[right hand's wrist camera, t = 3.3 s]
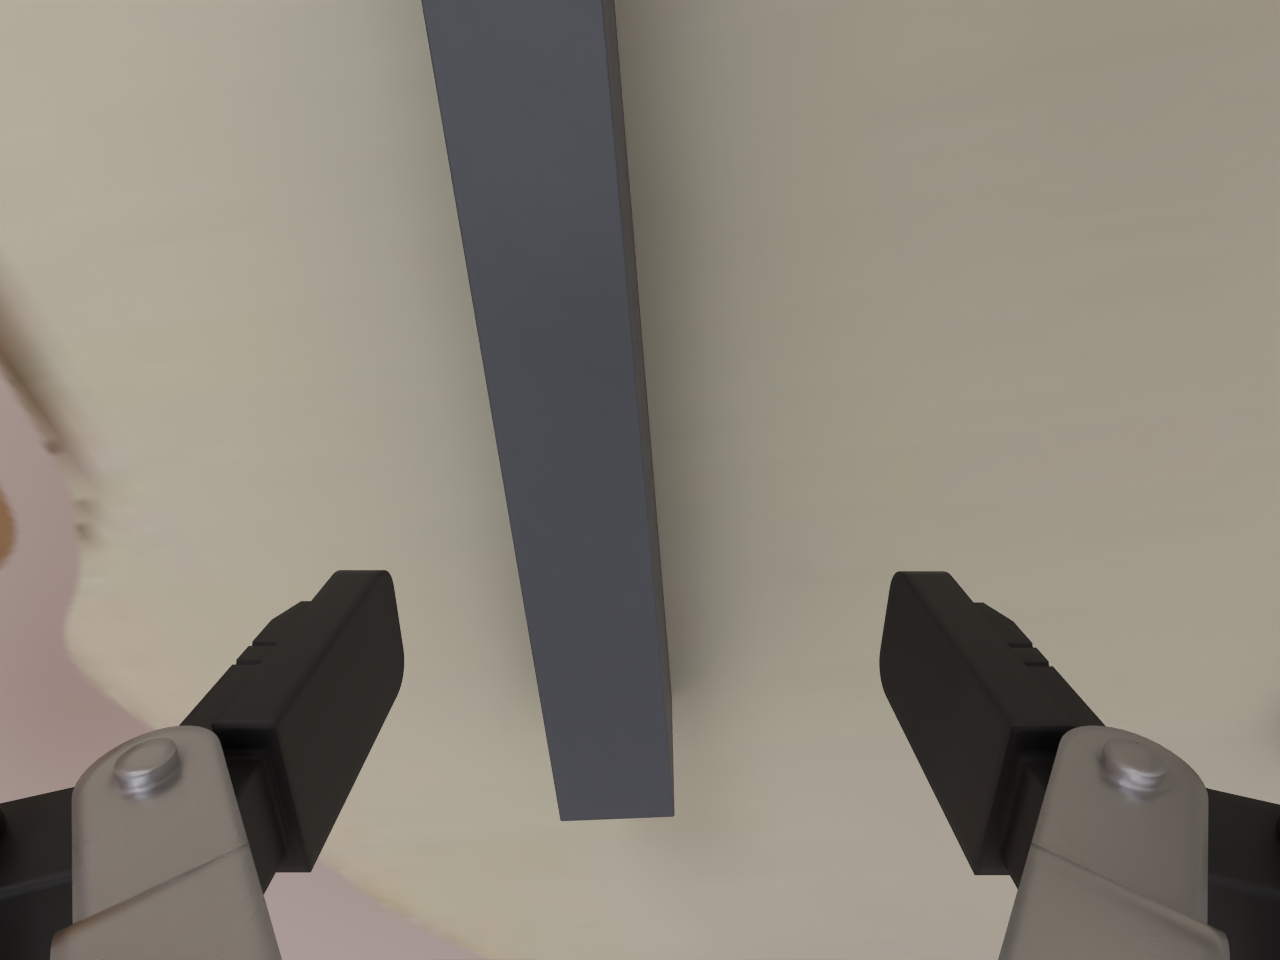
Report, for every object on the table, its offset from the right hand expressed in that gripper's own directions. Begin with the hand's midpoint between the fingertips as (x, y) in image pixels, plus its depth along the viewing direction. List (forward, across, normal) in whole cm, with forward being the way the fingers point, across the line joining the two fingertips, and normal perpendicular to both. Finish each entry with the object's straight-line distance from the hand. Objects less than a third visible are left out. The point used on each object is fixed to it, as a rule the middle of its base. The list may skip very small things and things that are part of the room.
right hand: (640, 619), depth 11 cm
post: (+18, +4, -20) cm, 27 cm away
